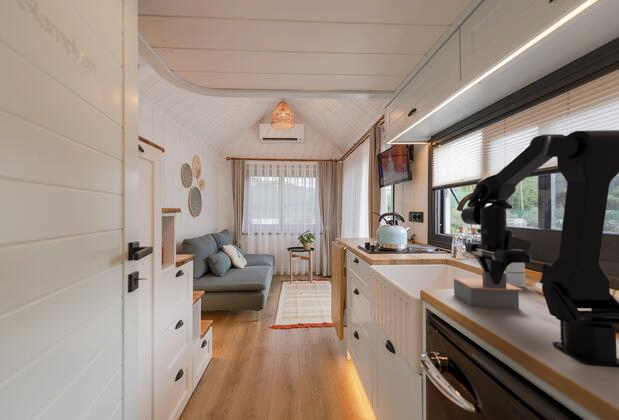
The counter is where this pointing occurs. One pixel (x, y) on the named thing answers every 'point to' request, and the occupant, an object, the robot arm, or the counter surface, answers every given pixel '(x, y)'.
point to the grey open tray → (486, 297)
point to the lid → (487, 283)
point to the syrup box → (515, 274)
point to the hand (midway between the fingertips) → (494, 283)
